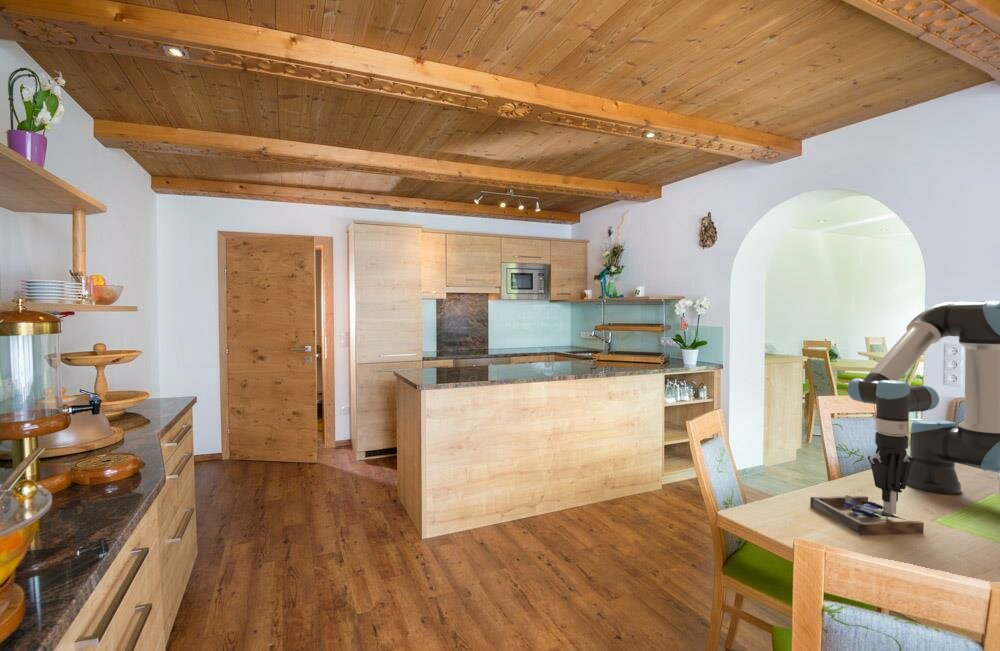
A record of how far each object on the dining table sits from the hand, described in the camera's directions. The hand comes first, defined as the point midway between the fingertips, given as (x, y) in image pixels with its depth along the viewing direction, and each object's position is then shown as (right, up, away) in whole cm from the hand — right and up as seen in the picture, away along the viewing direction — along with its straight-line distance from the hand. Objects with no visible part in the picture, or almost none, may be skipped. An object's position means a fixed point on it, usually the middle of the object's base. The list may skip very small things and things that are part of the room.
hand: (889, 512), depth 141 cm
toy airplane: (-6, -2, 0) cm, 6 cm away
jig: (-8, -2, 0) cm, 8 cm away
